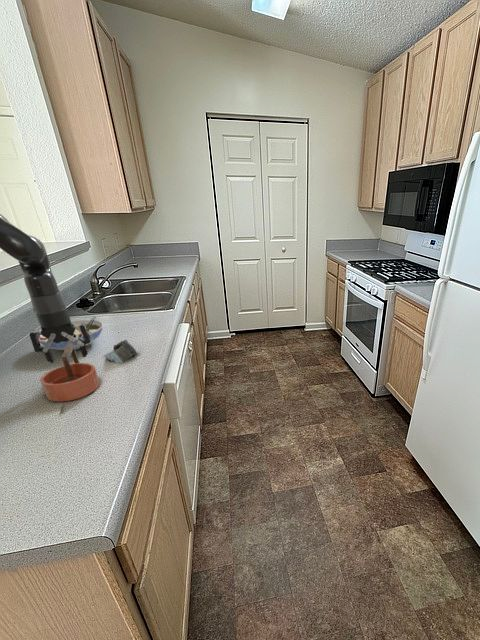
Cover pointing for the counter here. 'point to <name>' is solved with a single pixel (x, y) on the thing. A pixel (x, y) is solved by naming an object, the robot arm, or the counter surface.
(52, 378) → the bowl
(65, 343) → the ramen bowl
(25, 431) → the counter surface
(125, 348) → the grey angular wedge
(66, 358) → the brown bent ladle
